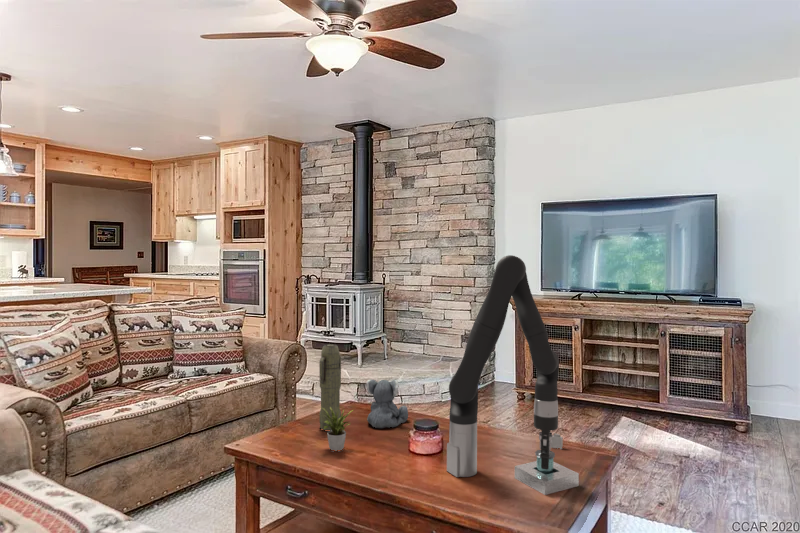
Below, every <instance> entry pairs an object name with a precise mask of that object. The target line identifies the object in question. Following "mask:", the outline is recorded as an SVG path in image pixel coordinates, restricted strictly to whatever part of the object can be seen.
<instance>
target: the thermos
mask: <svg viewBox="0 0 800 533" xmlns="http://www.w3.org/2000/svg"><path fill="white" fill-rule="evenodd" d="M320 354H321V355H320V359H319V387H320V410H319V429H320V428H321V429H324V427H325V426H329V425H328V424H327V423H324V422H325V421H329V422H330V423H331V421H330V419H329V418H328V417H327V416H326V415H327V413H326V411H327V412H328V414H329V416H330V418H331V419H332V412H331V409H330V407H331V408H332V410H333V412H334V413H335V416H336V415H337V413H338V416H337V421H338V419H339V418H340V417H341V414H342V411H341V404H340V403H341V402H340V401H341V398H340V397H341V396H340V395H341V394H340V393H341V392H340V389H341V386H342V385H341V384H342V382H341V381H342V357H341V354H340V349H339V347H338V345H337V344H336V343H334V344H333V343H327V344H324V345H323V346H322V349H321V352H320ZM322 408H323V409H322ZM324 409H325V410H326V411H325V410H324ZM337 410H338V411H337ZM323 413H324V414H323ZM325 414H326V415H325ZM322 415H323V416H322ZM324 416H325V417H326V418H327V419H328V420H327V419H326V418H325V417H324ZM320 424H322V425H320ZM331 424H332V423H331ZM332 425H333V424H332ZM328 428H329V429H330V430H332V429H331V428H330V426H329V427H328ZM328 428H326V429H324V430H329V429H328Z"/></svg>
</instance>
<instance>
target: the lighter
mask: <svg viewBox="0 0 800 533" xmlns="http://www.w3.org/2000/svg"><path fill="white" fill-rule="evenodd" d="M550 433H552V432H551V431H550ZM563 438H564V437H563V436H561V434H560V433H553V434H552V441H551V449H556V448H557V449H556V450H563V448H562V447H563V446H564V445H563V443H564V440H563ZM558 448H560V449H558Z"/></svg>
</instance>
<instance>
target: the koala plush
mask: <svg viewBox="0 0 800 533" xmlns="http://www.w3.org/2000/svg"><path fill="white" fill-rule="evenodd" d="M399 387H400V385H399V381H398V380H397V379H395V380H391V381H389V380H387V379H381V380H379V381H376V380H375V379H368V380H367V381H366V386H365V388H366V391H367V393H368V394H369V395H372V397H373V399H374V401H373V402H371V404H370V413H369V414H368V416H367V420H366V421H367V422H368V424H370V425H371V426H372V427H373V428H374V427H375V428H374V429H384V428H388V429H391V428H390V427H392V428H396V427H398V426H399V425H401V423H402V424H404V423H406V422H407V420H408V419H409V412H408V410H409V409H408V406H406V405H401V406H400V407H398V406H397V405H396V404H395V402H394V399H395V398H396V396H397V395H398V394H399Z"/></svg>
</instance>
